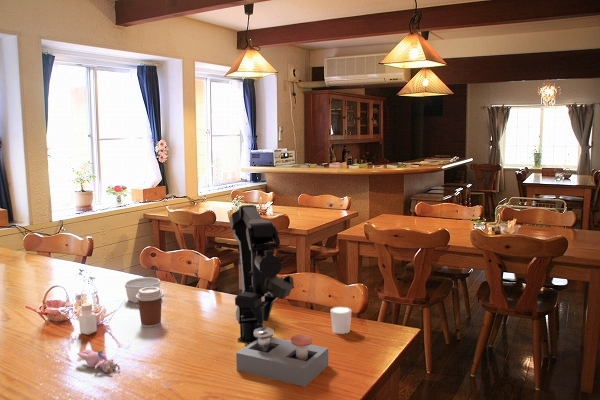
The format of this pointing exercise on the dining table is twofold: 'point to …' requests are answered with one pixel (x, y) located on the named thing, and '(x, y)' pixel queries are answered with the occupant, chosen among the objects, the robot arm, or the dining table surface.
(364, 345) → the dining table surface
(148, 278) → the ramekin
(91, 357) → the rabbit figure
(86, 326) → the pepper shaker
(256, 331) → the metal button
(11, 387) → the dining table surface
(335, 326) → the white cup
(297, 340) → the red button
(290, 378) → the console
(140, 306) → the coffee cup
